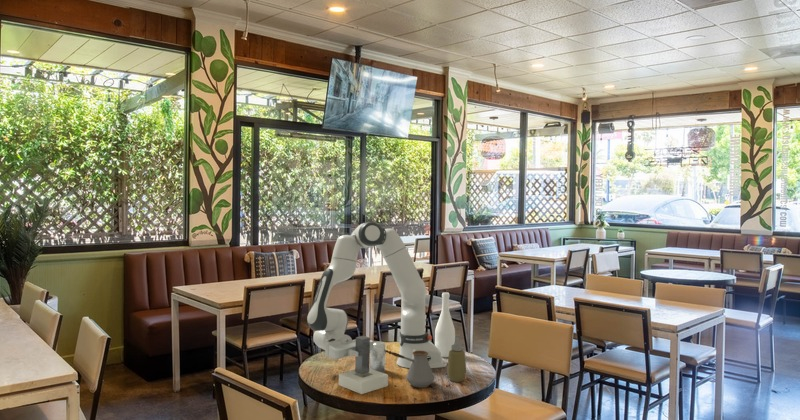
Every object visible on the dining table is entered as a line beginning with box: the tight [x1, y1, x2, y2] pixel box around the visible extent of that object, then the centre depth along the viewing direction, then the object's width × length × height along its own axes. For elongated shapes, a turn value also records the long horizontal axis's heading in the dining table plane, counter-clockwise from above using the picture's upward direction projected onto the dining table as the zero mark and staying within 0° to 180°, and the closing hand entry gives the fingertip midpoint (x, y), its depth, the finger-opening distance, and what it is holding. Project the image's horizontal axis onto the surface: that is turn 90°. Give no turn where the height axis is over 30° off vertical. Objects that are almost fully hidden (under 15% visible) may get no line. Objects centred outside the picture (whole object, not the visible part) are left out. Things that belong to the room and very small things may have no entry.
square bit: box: [354, 335, 371, 374], centre depth 225 cm, size 4×4×14 cm
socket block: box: [338, 367, 389, 395], centre depth 225 cm, size 14×14×4 cm
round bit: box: [369, 340, 386, 373], centre depth 244 cm, size 7×7×12 cm
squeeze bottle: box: [446, 336, 467, 383], centre depth 233 cm, size 8×8×18 cm
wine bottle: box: [434, 291, 456, 358], centre depth 269 cm, size 10×10×30 cm
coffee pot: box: [383, 349, 435, 388], centre depth 226 cm, size 21×12×15 cm, turn 108°
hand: (364, 352), depth 224 cm, fingers closed on square bit, 4 cm apart
